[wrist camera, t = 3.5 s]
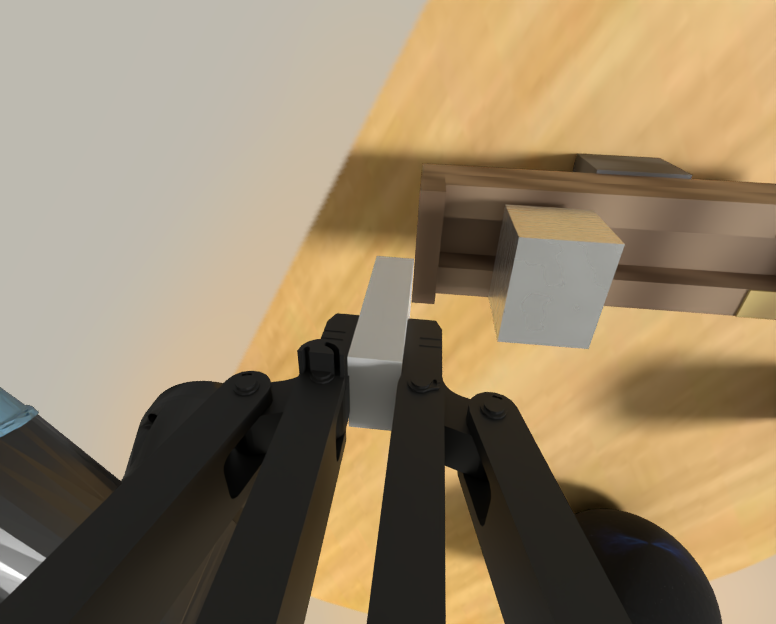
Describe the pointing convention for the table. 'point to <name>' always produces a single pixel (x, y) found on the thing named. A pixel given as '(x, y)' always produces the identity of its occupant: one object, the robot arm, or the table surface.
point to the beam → (624, 217)
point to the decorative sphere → (649, 570)
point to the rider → (551, 275)
